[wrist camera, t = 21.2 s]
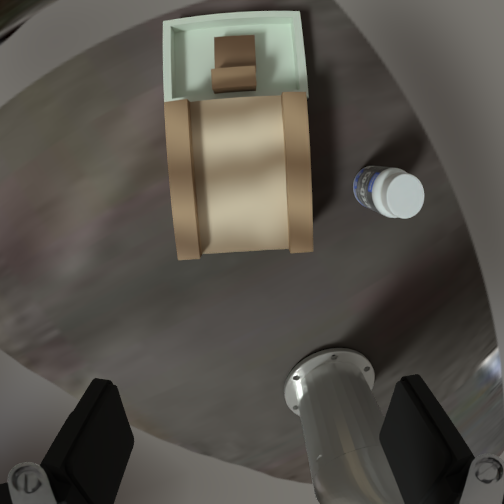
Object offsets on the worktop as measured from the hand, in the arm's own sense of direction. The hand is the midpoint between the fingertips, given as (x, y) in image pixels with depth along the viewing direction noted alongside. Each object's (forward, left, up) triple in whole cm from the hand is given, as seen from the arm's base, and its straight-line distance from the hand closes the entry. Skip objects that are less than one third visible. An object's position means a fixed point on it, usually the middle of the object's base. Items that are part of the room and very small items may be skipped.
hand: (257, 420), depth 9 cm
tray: (+19, +1, -26) cm, 32 cm away
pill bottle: (+5, -14, -26) cm, 30 cm away
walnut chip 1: (+19, 0, -23) cm, 30 cm away
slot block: (+7, +1, -26) cm, 27 cm away
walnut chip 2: (+15, +1, -23) cm, 28 cm away
